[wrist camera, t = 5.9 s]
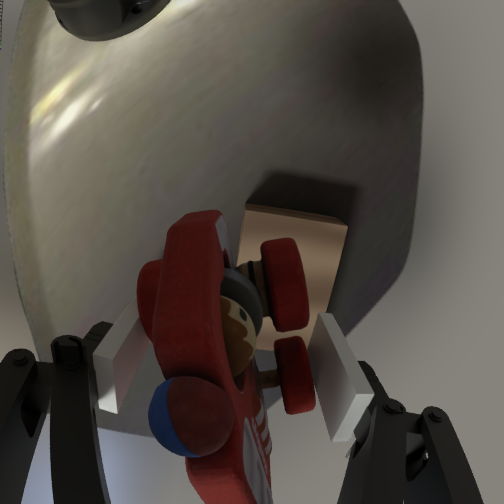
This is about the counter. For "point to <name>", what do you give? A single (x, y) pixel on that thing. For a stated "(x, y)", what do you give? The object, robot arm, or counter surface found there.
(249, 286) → the toy fire truck
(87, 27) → the robot arm
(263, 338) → the plinth
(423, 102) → the counter surface
